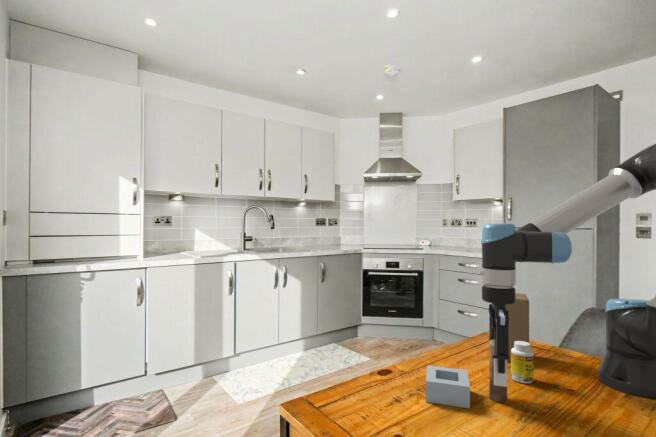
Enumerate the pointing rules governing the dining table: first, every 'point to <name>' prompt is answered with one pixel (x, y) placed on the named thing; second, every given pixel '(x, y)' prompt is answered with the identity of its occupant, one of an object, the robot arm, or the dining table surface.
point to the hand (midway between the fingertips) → (498, 378)
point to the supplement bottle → (522, 362)
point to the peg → (495, 392)
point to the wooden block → (518, 321)
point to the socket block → (447, 386)
